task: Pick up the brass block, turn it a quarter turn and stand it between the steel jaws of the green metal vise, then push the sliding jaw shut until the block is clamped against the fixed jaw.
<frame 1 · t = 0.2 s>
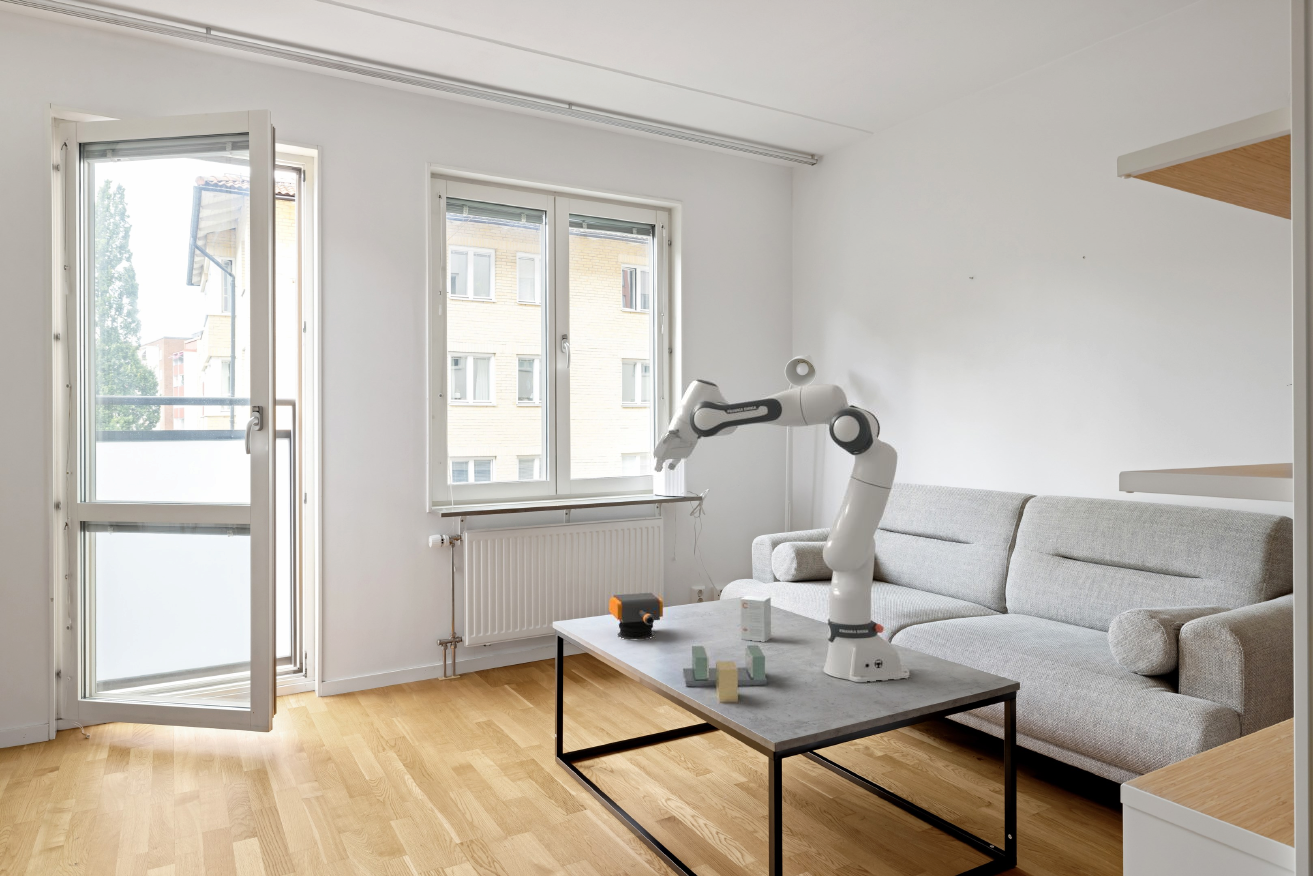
hand: (664, 470, 250), 54 cm above the table, tool tilted 30°, fingers open, 8 cm apart
small box: (756, 639, 262), on the table
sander: (639, 639, 263), on the table
brass block: (726, 697, 206), on the table
sliding jaw: (700, 662, 220), point 5 cm above the table, slide at 0.0 cm
vise: (723, 679, 220), on the table
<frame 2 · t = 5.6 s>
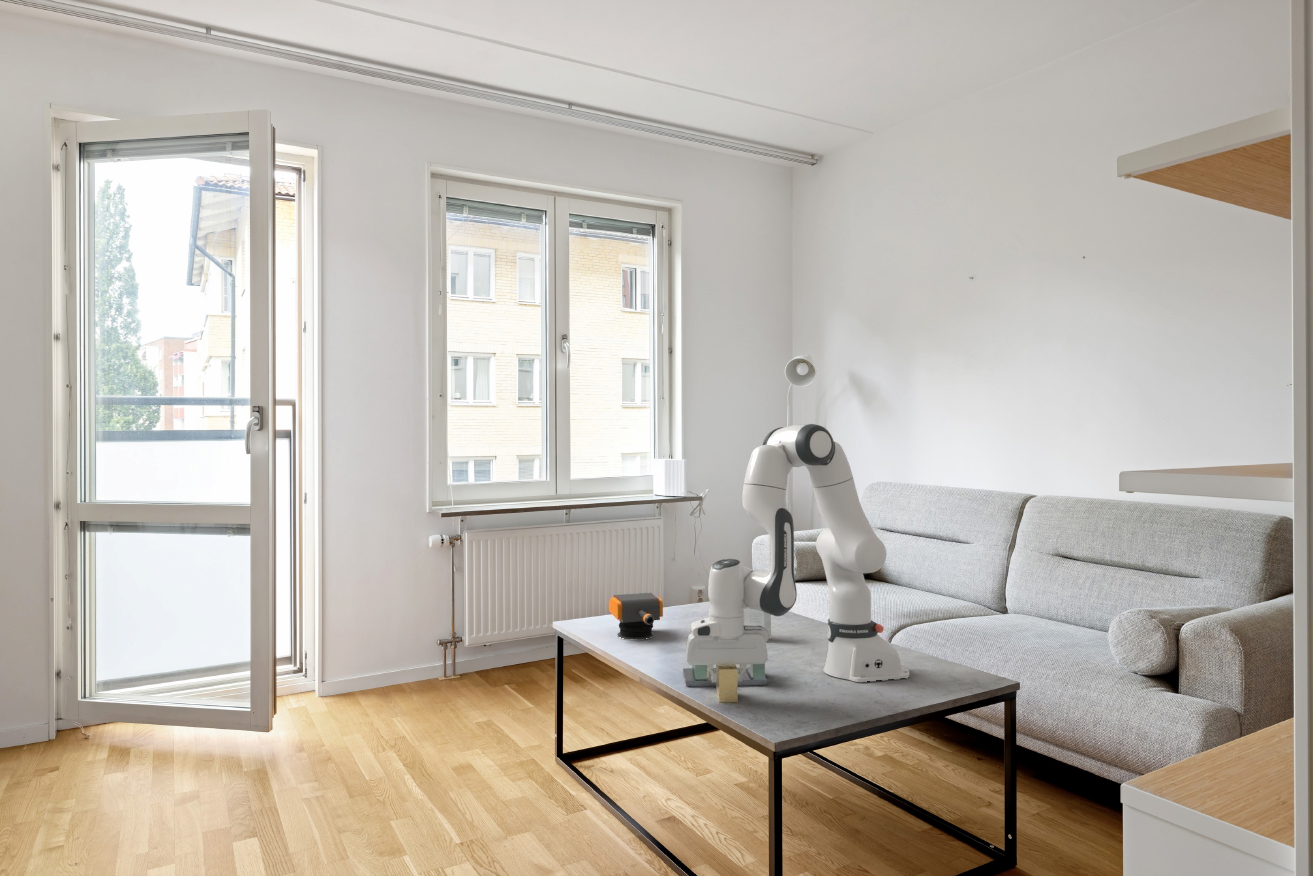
hand: (726, 681, 206), 4 cm above the table, tool pointing down, fingers closed on brass block, 4 cm apart
brass block: (726, 697, 206), on the table, touching gripper
everything else where it was.
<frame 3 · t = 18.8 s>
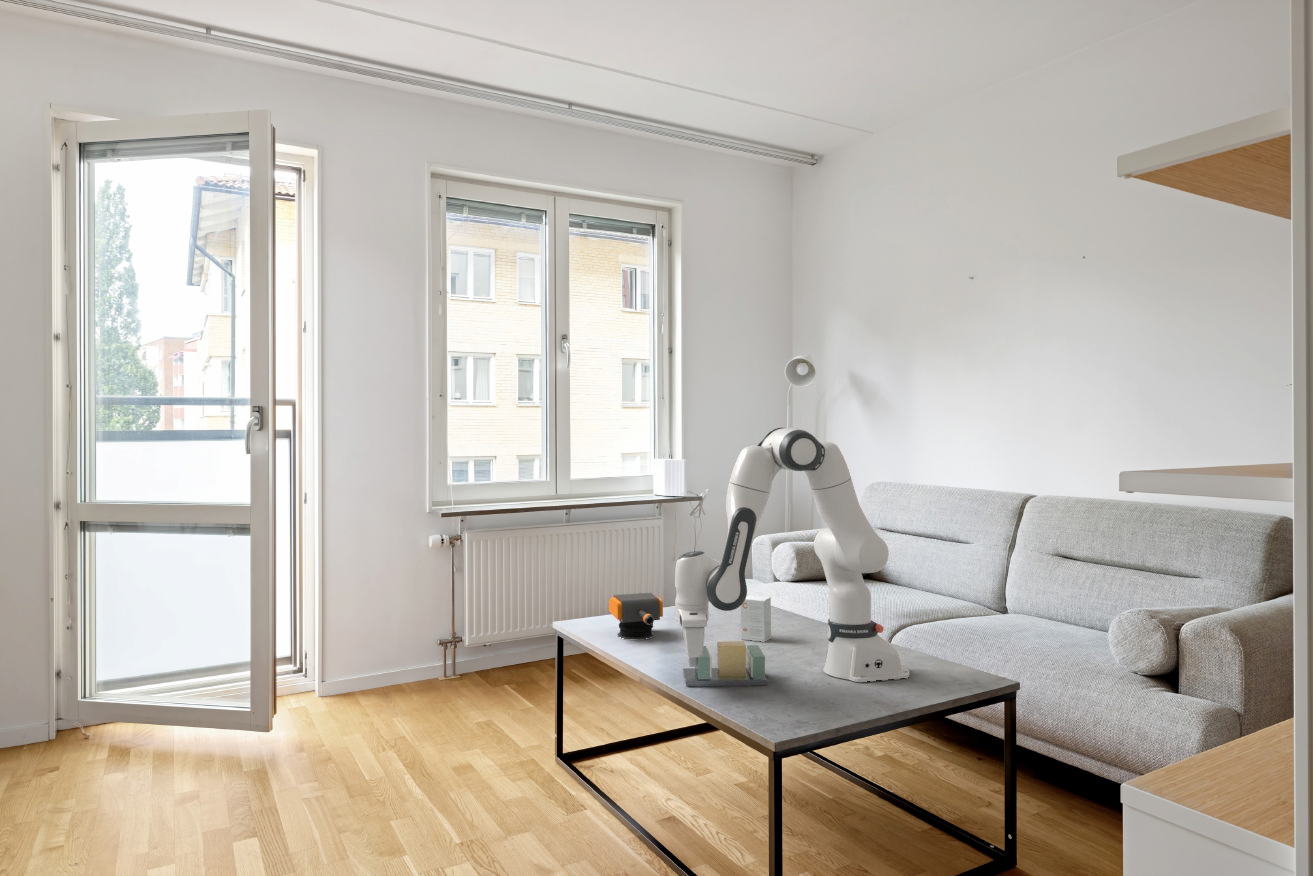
hand: (692, 665, 220), 4 cm above the table, tool pointing down, fingers closed, pressing on sliding jaw
brass block: (731, 673, 221), point 1 cm above the table, touching vise
sliding jaw: (703, 662, 220), point 5 cm above the table, slide at 0.7 cm, touching gripper
everything else where it was.
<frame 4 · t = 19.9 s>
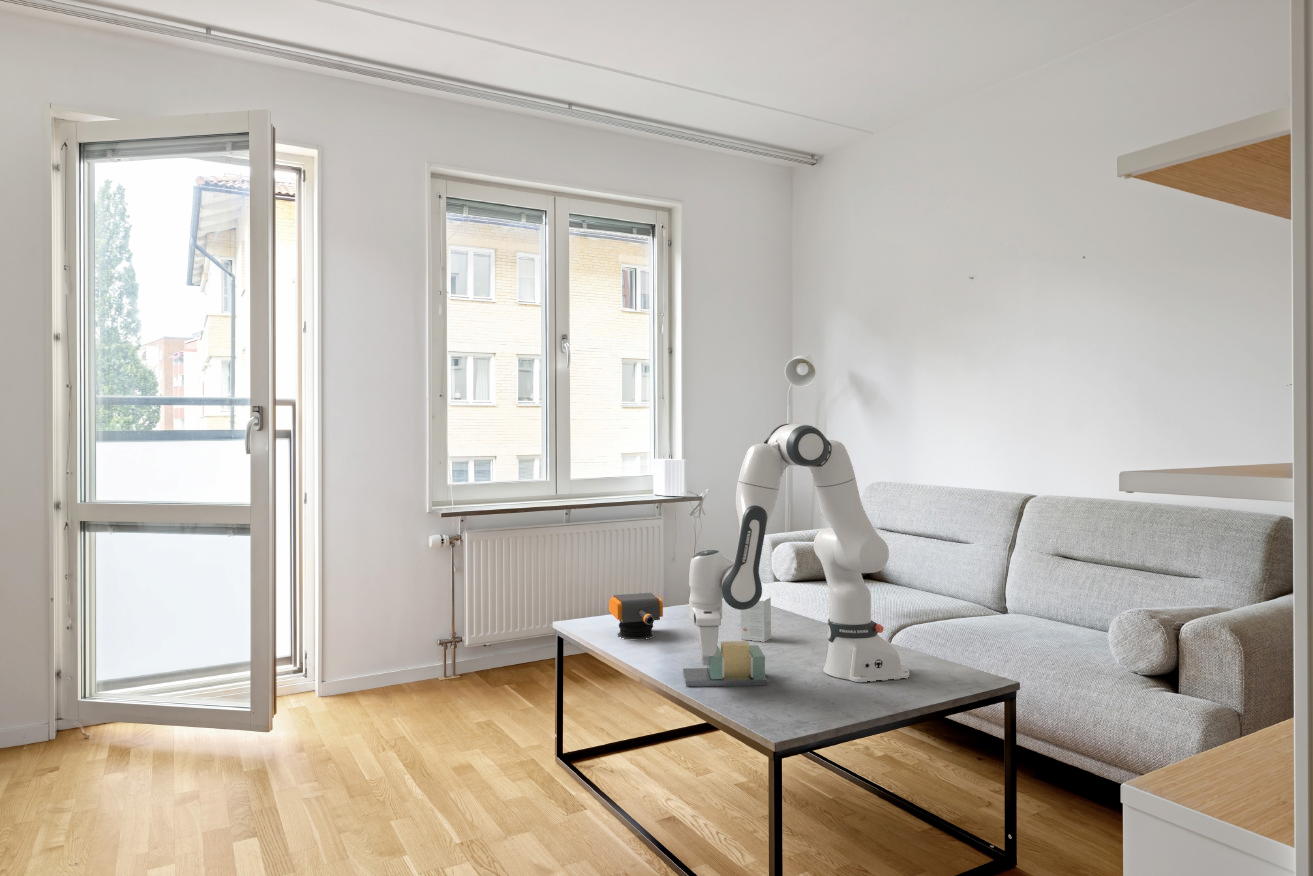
hand: (705, 663, 220), 4 cm above the table, tool pointing down, fingers closed, pressing on sliding jaw
brass block: (735, 673, 221), point 1 cm above the table, touching sliding jaw, vise
sliding jaw: (715, 662, 220), point 5 cm above the table, slide at 4.0 cm, touching brass block, gripper
everything else where it was.
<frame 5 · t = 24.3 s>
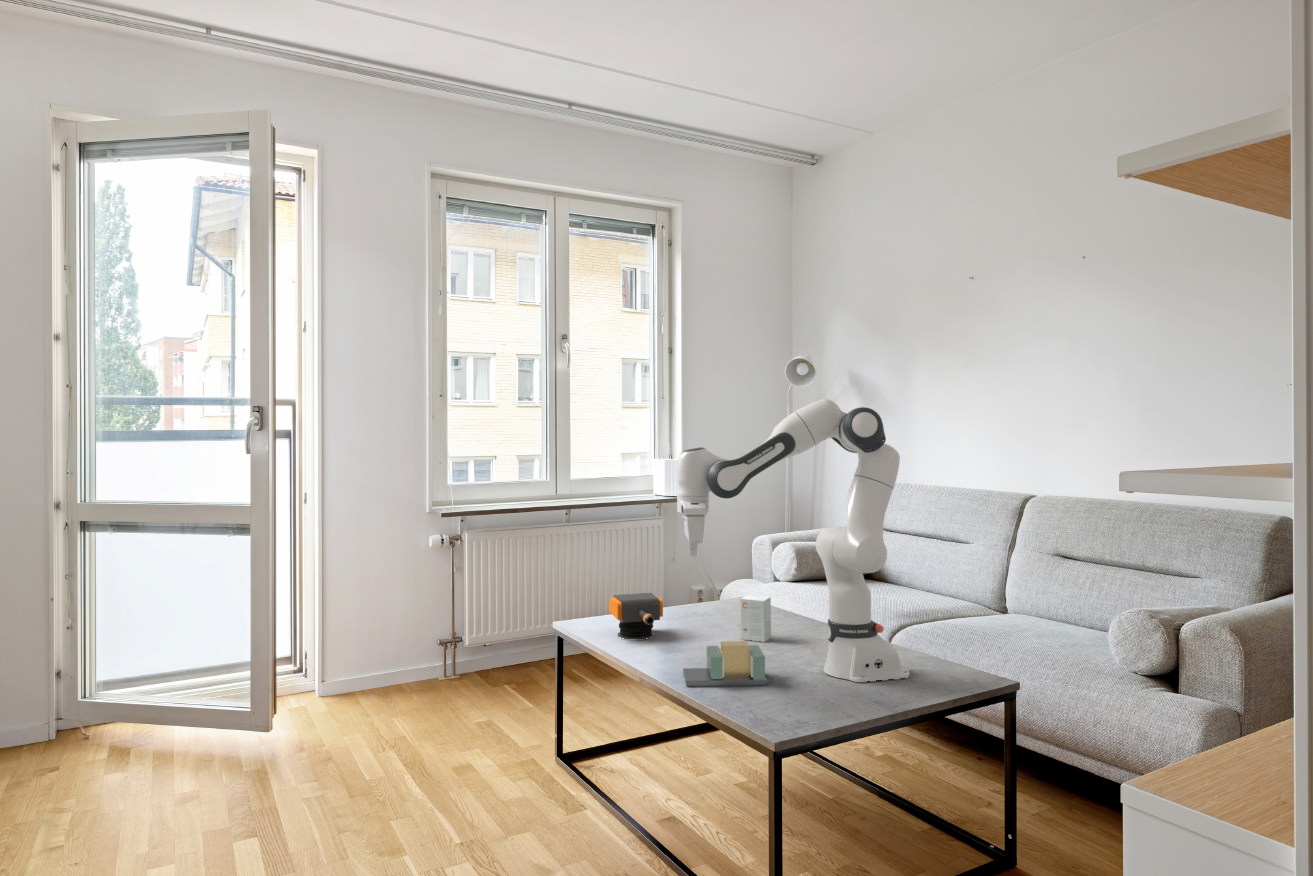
hand: (693, 555, 232), 31 cm above the table, tool pointing down, fingers closed
sliding jaw: (715, 662, 220), point 5 cm above the table, slide at 4.0 cm, touching brass block
everything else where it was.
at the end: brass block 0.2 cm from the target spot on the vise, point 1.5 cm above the vise's base; brass block tilted 0°; sliding jaw touching brass block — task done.
